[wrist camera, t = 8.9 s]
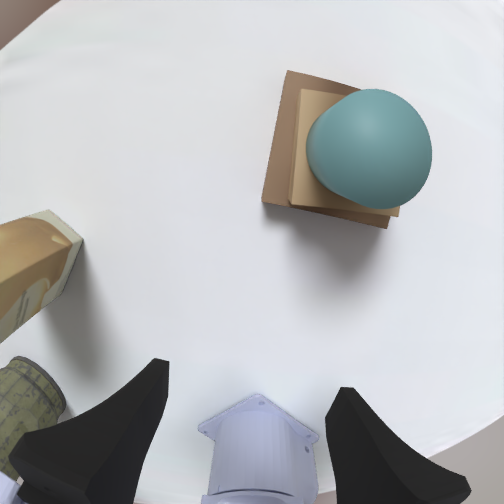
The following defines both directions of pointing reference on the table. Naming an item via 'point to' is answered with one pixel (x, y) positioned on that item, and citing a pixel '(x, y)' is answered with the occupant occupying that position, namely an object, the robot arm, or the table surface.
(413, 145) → the teal cylinder
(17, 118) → the table surface
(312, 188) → the oak block
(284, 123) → the walnut slab
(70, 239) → the skincare box
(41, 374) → the thermos
